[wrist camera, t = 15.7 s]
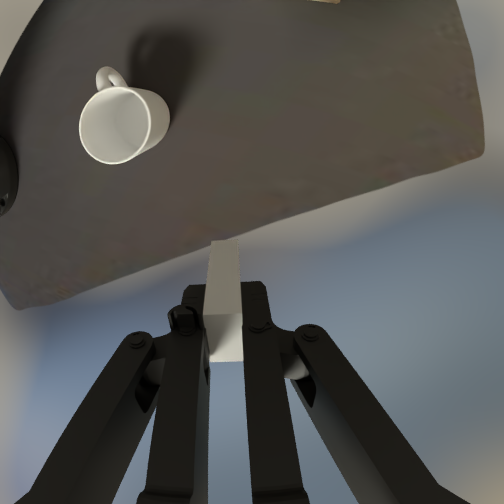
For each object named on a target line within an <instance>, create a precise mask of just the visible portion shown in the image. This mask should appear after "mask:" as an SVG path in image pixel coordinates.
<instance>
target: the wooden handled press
mask: <svg viewBox="0 0 504 504" xmlns="http://www.w3.org/2000/svg"><path fill="white" fill-rule="evenodd" d="M314 1H321V2H328V3H335V4H338V3H339V2H340V0H314Z"/></svg>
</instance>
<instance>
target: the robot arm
mask: <svg viewBox="0 0 504 504" xmlns="http://www.w3.org/2000/svg"><path fill="white" fill-rule="evenodd" d="M17 188H18V173H17V166H16V162H15V158H14V155H13V153H12V151H11V149H10V147H9V145H8V144H7V143H6V141H5V140H4V139H3V138H1V137H0V217H1V216H2V215H4V214H5V213H7V212H8V211H9V209H10V208H11V207H12V205H13V203H14V200H15V198H16V194H17ZM168 319H169V323H170V328H171V332H170V333H168V334H167V335H163V336H160V337H156V338H152V336H151V335H150V334H149V333H147V332H142V331H138V332H134V333H131V334H129V335H127V336H126V338H124V340H123V341H122V342H121V344H120V345H119V347H118V348H117V350H116V351H115V353H114V354H113V356H112V357H111V359H110V360H109V362H108V363H107V364H106V366H105V367H104V369H103V370H102V372H101V374H100V375H99V377H98V378H97V380H96V381H95V383H94V384H93V386H92V387H91V389H90V390H89V392H88V393H87V395H86V397H85V398H84V400H83V401H82V403H81V405H80V406H79V407H78V409H77V411H76V412H75V414H74V416H73V417H72V419H71V420H70V422H69V424H68V425H67V427H66V429H65V430H64V432H63V433H62V435H61V437H60V438H59V440H58V442H57V443H56V445H55V447H54V449H53V450H52V452H51V454H50V455H49V457H48V459H47V461H46V462H45V464H44V466H43V468H42V470H41V471H40V473H39V475H38V477H37V478H36V480H35V482H34V484H33V486H32V488H31V489H30V491H29V492H28V493H27V494H25V495H24V496H23V497H22V498H20V499H19V500H18V501H17V502H16V503H14V504H112V502H113V499H114V497H115V495H116V493H117V490H118V488H119V486H120V484H121V482H122V479H123V477H124V475H125V473H126V471H127V468H128V466H129V464H130V462H131V460H132V457H133V455H134V453H135V451H136V449H137V446H138V444H139V442H140V440H141V438H142V436H143V434H144V431H145V429H146V427H147V425H148V423H149V420H150V419H151V416H152V414H153V412H154V410H155V408H156V414H155V420H154V426H153V433H152V440H151V446H150V454H149V461H148V470H147V478H146V485H145V489H144V491H142V492H141V493H140V494H139V496H138V498H137V503H136V504H208V430H209V396H210V367H209V357H210V362H228V361H229V362H231V361H243V362H244V379H245V397H246V413H247V429H248V444H249V459H250V472H251V473H250V474H251V488H252V502H253V504H310V503H309V498H308V495H307V493H306V491H305V490H304V488H303V483H302V477H301V471H300V465H299V459H298V454H297V448H296V442H295V436H294V430H293V425H292V419H291V414H290V408H289V402H288V396H287V391H286V385H285V379H284V378H289V379H290V380H291V383H292V385H293V387H294V388H295V390H296V392H297V394H298V396H299V398H300V400H301V401H302V403H303V405H304V407H305V409H306V411H307V412H308V414H309V416H310V418H311V420H312V422H313V424H314V425H315V427H316V429H317V431H318V433H319V434H320V436H321V438H322V440H323V442H324V443H325V445H326V447H327V449H328V451H329V452H330V454H331V456H332V458H333V459H334V461H335V463H336V465H337V467H338V468H339V470H340V471H341V474H342V475H343V477H344V479H345V481H346V482H347V484H348V486H349V488H350V489H351V491H352V493H353V494H354V496H355V498H356V500H357V501H358V503H359V504H470V503H468V502H467V501H465V500H463V499H462V498H460V497H458V496H456V495H455V494H453V493H452V492H450V491H448V490H447V489H445V488H443V487H442V486H440V485H439V484H438V483H437V482H436V480H435V479H434V477H433V476H432V475H431V473H430V472H429V470H428V469H427V468H426V466H425V465H424V463H423V462H422V461H421V459H420V458H419V456H418V455H417V454H416V452H415V451H414V450H413V448H412V447H411V446H410V444H409V443H408V441H407V440H406V439H405V437H404V436H403V434H402V433H401V432H400V430H399V429H398V428H397V426H396V425H395V424H394V422H393V421H392V419H391V418H390V417H389V415H388V414H387V413H386V411H385V410H384V409H383V407H382V406H381V405H380V403H379V402H378V400H377V399H376V398H375V396H374V395H373V394H372V392H371V391H370V390H369V389H368V387H367V386H366V384H365V383H364V382H363V380H362V379H361V378H360V376H359V375H358V373H357V372H356V371H355V370H354V368H353V367H352V365H351V364H350V363H349V361H348V360H347V359H346V357H345V356H344V355H343V353H342V352H341V351H340V349H339V348H338V347H337V345H336V344H335V343H334V341H333V340H332V339H331V338H330V336H329V335H328V333H327V332H326V331H325V330H324V329H323V328H322V327H320V326H318V325H314V324H306V325H302V326H299V327H298V328H297V329H296V330H295V332H294V331H287V330H283V329H281V328H279V327H277V326H276V325H275V324H274V323H273V321H272V319H271V313H270V308H269V303H268V296H267V291H266V286H265V285H264V284H263V283H262V282H261V281H253V282H240V268H239V249H238V240H220V241H212V242H211V250H210V258H209V265H208V274H207V282H206V284H203V285H202V284H201V285H189V286H188V287H187V288H186V289H185V290H184V293H183V297H182V302H181V305H178V306H175V307H173V308H172V309H171V310H170V311H169V312H168ZM156 406H157V407H156Z"/></svg>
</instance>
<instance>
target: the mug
mask: <svg viewBox="0 0 504 504" xmlns="http://www.w3.org/2000/svg"><path fill="white" fill-rule="evenodd" d="M109 80H111V82H112V83H113V84H114V85H115V86H112V85H111V83H110V81H109ZM96 84H97V88H98V91H99V92H98V93H96V94H95V95H94V96H93V97H92V98H91V99H90V100H89V101H88V102H87V104H86V105H85V107H84V109H83V111H82V114H81V117H80V122H79V134H80V139H81V142H82V144H83V146H84V148H85V149H86V151H87V152H88V153H89V154H90V155H91V156H92V157H93V158H95V159H96V160H98V161H100V162H103V163H106V164H119V163H123V162H126V161H128V160H130V159H132V158H133V157H135V156H137V155H139V154H141V153H142V152H144V151H146V150H148V149H150V148H151V147H153V146H155V145H156V144H157V143H158V142H160V141H161V139H162V138H163V137H164V135H165V134H166V132H167V130H168V127H169V123H170V113H169V109H168V106H167V104H166V103H165V101H164V100H163V99H162V98H161V97H160V96H159V95H158V94H156V93H154V92H152V91H149V90H144V89H138V88H132V87H128V86H127V84H126V82H125V81H124V79H123V78H122V76H121V75H120V74H119V73H118V72H117V71H116V70H114V69H113V68H111V67H103V68H101V69H100V70H99V71H98V72H97V75H96Z"/></svg>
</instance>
